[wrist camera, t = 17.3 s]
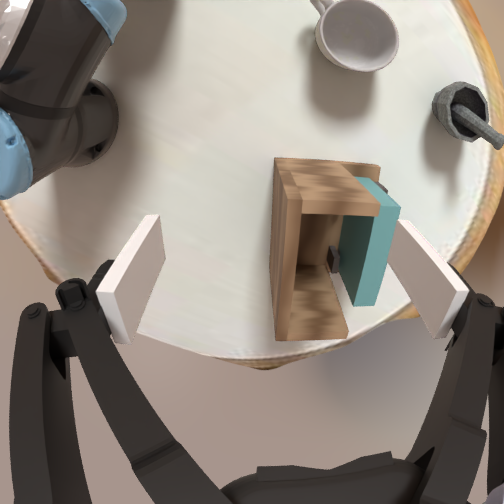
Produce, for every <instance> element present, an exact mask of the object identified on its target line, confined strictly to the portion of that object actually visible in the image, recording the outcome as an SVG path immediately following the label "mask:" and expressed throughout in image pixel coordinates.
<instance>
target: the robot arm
mask: <svg viewBox="0 0 504 504" xmlns="http://www.w3.org/2000/svg"><path fill="white" fill-rule="evenodd" d="M126 17H127V10H126V7H125V5H124V4H123V3H122V2H121V1H120V0H0V200H6V199H9V198H11V197H13V196H15V195H17V194H18V193H23V192H25V191H26V190H27V189H28V188H29V187H31V186H32V185H34V184H35V183H37V182H38V181H40V180H41V179H43V178H44V177H46V176H48V175H49V174H51V173H52V172H54V171H56V170H58V169H59V168H61V167H80V166H84V165H87V164H89V163H91V162H93V161H95V160H96V159H98V158H99V157H101V156H102V155H103V154H104V153H105V152H106V151H107V150H108V149H109V147H110V146H111V144H112V142H113V140H114V138H115V135H116V132H117V128H118V109H117V104H116V101H115V99H114V97H113V95H112V93H111V92H110V90H109V89H108V88H107V87H106V86H105V85H104V84H102V83H101V82H99V81H97V80H95V79H91V78H92V76H93V74H94V72H95V70H96V68H97V67H98V65H99V63H100V61H101V60H102V58H103V56H104V55H105V53H106V51H107V50H108V48H109V46H112V45H113V43H114V40H115V37H116V35H117V33H118V32H119V30H120V28H121V27H122V25H123V23H124V22H125V20H126ZM165 259H166V258H165V251H164V244H163V237H162V230H161V222H160V215H146V216H145V217H144V219H143V220H142V222H141V223H140V224H139V226H138V227H137V229H136V230H135V232H134V233H133V234H132V236H131V237H130V239H129V240H128V242H127V243H126V245H125V246H124V248H123V249H122V251H121V252H120V254H119V255H118V257H117V258H116V260H107V261H106V262H105V263H103V264H102V265H101V266H100V267H99V269H98V270H97V272H96V274H95V275H94V276H93V277H92V279H91V281H90V282H89V284H88V285H86V282H85V281H84V280H83V279H80V278H73V279H69V280H66V281H65V282H63V283H61V284H60V285H59V286H58V287H57V289H56V297H57V300H58V302H59V304H60V306H61V310H55V311H48V309H47V307H46V305H45V304H43V303H40V302H39V303H34V304H31V305H29V306H27V307H26V308H25V309H24V310H23V311H22V314H21V316H20V321H19V327H18V332H17V338H16V345H15V352H14V359H13V368H12V379H11V391H10V413H9V415H10V416H9V438H10V458H11V459H10V460H11V472H12V481H13V489H14V496H15V498H14V504H92V502H91V498H90V494H89V490H88V486H87V482H86V478H85V474H84V469H83V465H82V460H81V456H80V450H79V445H78V438H77V432H76V425H75V418H74V410H73V401H72V391H71V378H70V362H69V357H76V356H78V357H79V360H80V362H81V365H82V368H83V370H84V372H85V375H86V377H87V379H88V382H89V384H90V386H91V389H92V391H93V393H94V395H95V397H96V399H97V402H98V404H99V406H100V408H101V410H102V412H103V414H104V416H105V418H106V420H107V422H108V423H109V426H110V427H111V429H112V431H113V433H114V435H115V437H116V438H117V440H118V442H119V444H120V446H121V447H122V449H123V451H124V453H125V454H126V456H127V457H128V459H129V461H130V463H131V466H132V469H133V471H134V473H135V475H136V477H137V478H138V480H139V481H140V483H141V484H142V486H143V487H144V489H145V490H146V492H147V493H148V494H149V496H150V497H151V499H152V500H153V501H154V503H155V504H471V503H469V502H468V501H467V499H468V496H469V494H470V491H471V488H472V486H473V483H474V480H475V477H476V474H477V471H478V467H479V464H480V461H481V457H482V453H483V450H484V446H485V442H486V437H487V433H486V431H485V430H482V429H481V425H482V421H483V416H484V411H485V406H486V400H487V396H488V400H489V457H488V470H487V494H488V497H487V500H486V502H484V503H483V504H504V307H503V308H502V307H497V306H495V304H494V302H493V301H492V300H491V299H490V298H489V297H488V296H485V295H484V294H479V293H477V294H476V293H475V292H474V291H473V289H472V288H471V287H470V286H469V284H468V283H467V282H466V281H465V280H464V279H463V277H462V276H461V275H459V272H458V271H457V270H456V269H455V268H454V267H453V266H452V265H450V264H449V263H448V262H446V261H445V260H444V259H443V258H442V257H441V255H440V254H439V253H438V252H437V251H436V250H435V249H434V248H433V246H432V245H431V244H430V243H429V242H428V241H427V240H426V239H425V238H424V237H423V235H422V234H421V233H420V232H419V231H418V230H417V229H416V228H415V227H414V226H413V225H412V224H411V223H410V222H409V221H408V220H397V222H396V226H395V230H394V235H393V239H392V243H391V247H390V250H389V254H388V258H387V262H388V264H389V265H390V267H391V268H392V270H393V271H394V273H395V274H396V276H397V278H398V279H399V281H400V282H401V284H402V286H403V287H404V289H405V291H406V292H407V294H408V295H409V297H410V299H411V301H412V302H413V304H414V306H415V307H416V309H417V311H418V312H419V314H420V316H421V318H422V319H423V321H424V323H425V325H426V326H427V328H428V330H429V332H430V334H431V336H432V337H433V339H438V338H445V337H446V336H447V334H448V332H449V330H450V329H451V328H452V329H453V331H454V335H453V337H452V338H451V340H450V342H449V344H448V345H447V347H446V349H445V351H447V350H448V353H447V356H446V360H445V363H444V366H443V370H442V373H441V376H440V379H439V382H438V385H437V388H436V391H435V394H434V397H433V400H432V402H431V405H430V407H429V410H428V413H427V415H426V418H425V420H424V423H423V425H422V427H421V430H420V432H419V434H418V437H417V439H416V441H415V443H414V445H413V448H412V450H411V452H410V453H409V455H408V456H407V457H406V459H405V460H402V459H395V458H392V454H391V451H389V452H384V453H380V454H375V455H370V456H364V457H360V458H358V459H356V460H353V461H351V462H348V463H346V464H344V465H341V466H339V467H336V468H333V469H330V470H324V469H315V468H307V467H300V466H294V465H289V466H266V467H265V466H259V467H257V472H256V473H255V474H251V475H247V476H244V477H241V478H239V479H237V480H234V481H232V482H231V483H229V484H227V485H226V486H224V487H223V488H222V489H220V490H219V489H218V487H217V486H216V485H215V484H214V483H213V482H212V481H211V480H210V479H209V477H208V476H207V475H206V474H205V473H204V472H203V470H202V469H201V468H200V467H199V466H198V465H197V463H196V462H195V461H194V460H193V459H192V457H191V456H190V455H189V454H188V452H187V451H186V450H185V449H184V447H183V446H182V445H181V444H180V443H179V442H177V441H176V440H175V439H174V437H173V436H172V434H171V433H170V432H169V430H168V429H167V428H166V426H165V425H164V423H163V422H162V421H161V419H160V418H159V417H158V415H157V414H156V412H155V410H154V409H153V408H152V406H151V405H150V403H149V402H148V400H147V399H146V397H145V395H144V394H143V392H142V391H141V389H140V388H139V386H138V385H137V383H136V381H135V380H134V378H133V376H132V375H131V373H130V371H129V370H128V368H127V366H126V365H125V363H124V361H123V359H122V358H121V356H120V354H119V352H118V351H117V349H116V347H115V345H114V343H113V341H112V339H111V338H110V335H111V334H112V337H113V339H114V342H115V343H120V344H128V345H131V344H132V342H133V339H134V336H135V333H136V331H137V328H138V326H139V323H140V320H141V318H142V315H143V313H144V310H145V307H146V305H147V302H148V300H149V297H150V295H151V292H152V290H153V288H154V285H155V283H156V280H157V278H158V275H159V273H160V271H161V268H162V266H163V264H164V261H165ZM448 348H449V349H448Z"/></svg>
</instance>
